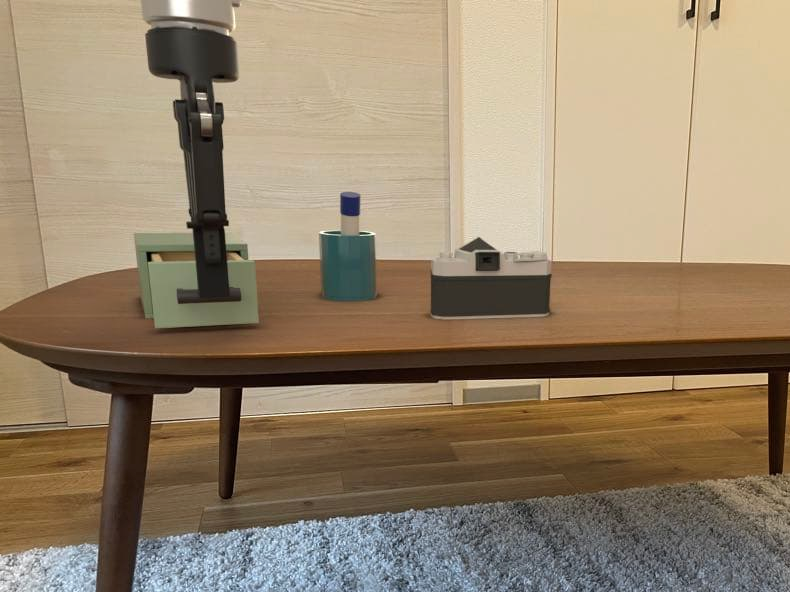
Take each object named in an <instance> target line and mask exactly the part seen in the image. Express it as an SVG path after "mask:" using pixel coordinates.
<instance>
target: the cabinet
mask: <svg viewBox="0 0 790 592" xmlns="http://www.w3.org/2000/svg"><path fill="white" fill-rule="evenodd" d="M133 238H134V247H135V257H136V265H137V266H136V267H137V274H138V283H139V293H140V300H141V305H142V310H143V313H144V317H145V319H154V316H153V307H152V298H151V288H150V279H149V270H148V262H151V255H150V252H166V251H194V240H193V232H133ZM225 241H226V251H234V252H235V253H236V254H238V255H239V256H240V257H241V258H242V259H244V260H249V251H248V250H249V249H248V248H249V247H248V243H246V242H245V241H243V240H242V239H241V238H239V237H238V236H237V235H235V234H234V233H232V232H225Z"/></svg>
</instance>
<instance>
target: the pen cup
mask: <svg viewBox="0 0 790 592" xmlns="http://www.w3.org/2000/svg"><path fill="white" fill-rule="evenodd" d="M318 247H319V271H320V293H321V298H322V299H325V300H327V301H333V302H334V301H335V302H366V301H371V300H372V301H373V300H375V299H377V295H378V294H377V293H378V281H377V279H378V278H377V277H378V275H377V272H378V271H377V234H376V233H375V232H371V231H364V230H359V235H341V230H323V231H319V232H318Z"/></svg>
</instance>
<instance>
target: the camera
mask: <svg viewBox="0 0 790 592" xmlns="http://www.w3.org/2000/svg"><path fill="white" fill-rule="evenodd" d="M552 264H553V262H552V259H549V258H548V253H547V251H543V250H532V251H528V252H516V251H504V252H501V251H499V250H498V249H497V248H496V247H493V246H492V245H491V244H489V243H488V242H486V241H485V240H484V239H483V238H482V237H480V236H477V237H475V238H473V239H472V240H470V241H468V242H466V243H464V244H463V245H461V246H459V247H458V248H456V249H455V250H454V254H453V252H452V251H439V257H438V256H437V257H435V258H431V259H430V317H432V318H433V319H436V320H437V319H438V320H471V319H473V320H474V319H476V320H477V319H504V318H507V319H508V318H535V317H537V318H538V317H540V318H541V317H547V316H549V315H550V312H551V308H550V304H551V302H550V301H551V280H552V277H553V274H552Z"/></svg>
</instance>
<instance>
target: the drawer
mask: <svg viewBox="0 0 790 592" xmlns="http://www.w3.org/2000/svg"><path fill="white" fill-rule="evenodd" d="M226 253H227V265H228V278H229V290H230V297H211V298H200V297H199V294H198V283H197V272H196V261H195V251H166V252H150V255H151V262H148V270H149V279H150V288H151V298H152V307H153V316H154V318H153V323H154V324H153V326H154V329H173V328H192V327H209V326H210V327H211V326H212V327H213V326H227V325H228V326H229V325H230V326H231V325H248V324H249V325H250V324H251V325H252V324H259V323H260V316H259V315H260V314H259V301H258V285H257V283H258V282H257V269H256V261H255V260H254V259H248V260H244V259H242V258H241V257H240V256H239V255H238V254H236V253H235V252H234V251H226Z"/></svg>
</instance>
